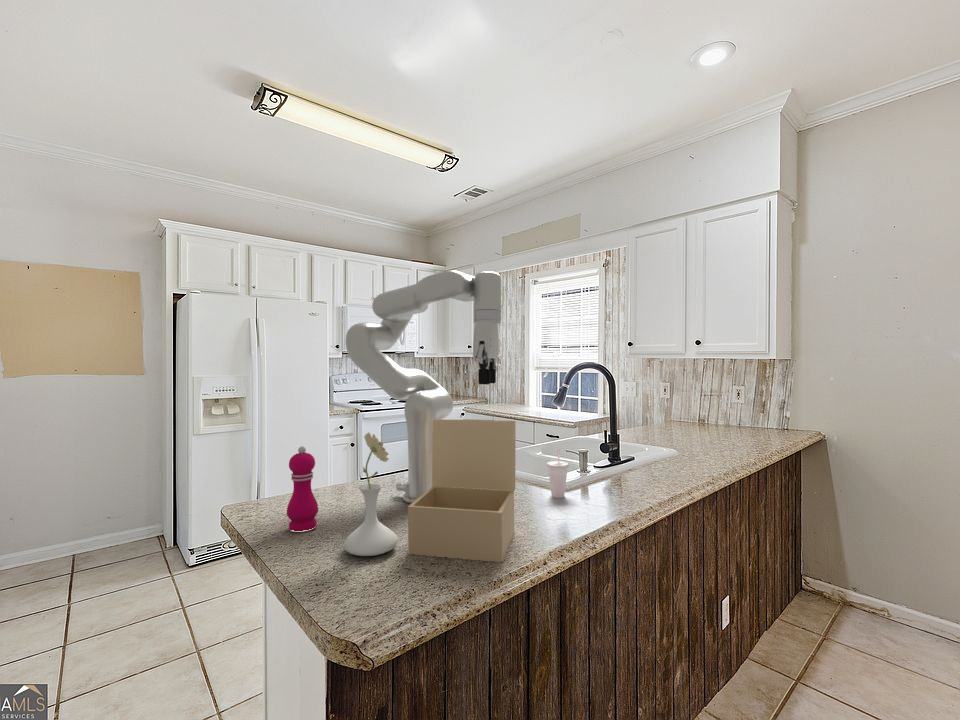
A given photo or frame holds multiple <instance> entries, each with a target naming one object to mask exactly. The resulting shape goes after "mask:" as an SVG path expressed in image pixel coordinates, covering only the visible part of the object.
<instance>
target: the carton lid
mask: <svg viewBox="0 0 960 720" xmlns="http://www.w3.org/2000/svg"><path fill="white" fill-rule="evenodd" d="M516 421H517V420H502V419H501V420H500V419H499V420H497V419H473V418H472V419H465V418H464V419H451V418H450V419H447V418H443V419H433V447H432V486H438V487H455V488H473V489H492V490H511V491H514V492H515V491H516V465H517V464H516V457H517V456H516V451H517V450H516V448H517V447H516V441H517V439H516V435H517V434H516V431H517V430H516Z"/></svg>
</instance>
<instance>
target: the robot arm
mask: <svg viewBox="0 0 960 720" xmlns="http://www.w3.org/2000/svg"><path fill="white" fill-rule="evenodd" d="M501 277H502V276H501V275H500V274H499V273H497V272H495V271H481V272H480V271H479V272H477V273H475V275H470V274H466V273H465V272H461V271H458V270H446V271H441V272H438V273H434V274H431V275H428V276H425V277H423V278H422V279H420V280H418V281H417V282H416V283H414V284H411V285H407V286H403V287H401V288H400V287H399V288H396V289H393V290H388V291H385V292H382V293H379V294H378V295H376V296H375V298H374V299H373V301H372V305H371V307H372V308H371V309H372V311H373V314H375V315H376V317H377V318H378V319H382V320H381V321H380V323H373V322H359V323H355V324H353V325H352V326H350V327H349V328H348V329H347V332H346V335H345V347H346V351H347V354H348V356H349V358H350V359H351V361H352V363H353V364H354V365H355V366H356V367H358V368H359V369H360V370H361V371H362V372H363V373H364V374H366V375H367V376H368V378H370V379H371V380H372V381H373V382H374V383H375V384H376V385H378V387H379V388H381V389H382V390H383V391H384V392H385V393H386V394H387V395H388V396H389V397H390V398H392V399H393V400H397V401H403V400H406V401H405V403H404V410H403V411H404V417H405V423H406V431H407V463H408V464H407V465H408V467H407V468H408V474H407V475H408V479H407V480H408V481H407V482H405V483H404V482H396V484H395V488H396V491H399V492H402V491H403V492H404V494H403V496H402V497H403V501H404V502H406V503H408V504H410V505H411V504H412V503H413V502H414V501H415V500H417V499H418V498H419V497H420V496H421V495H423V494H424V493H425V492H426V491H428V490H429V489H430V488H431V487H432V447H433V419H447V417H449V416H450V414H452V411H453V409H454V401H453V398H452V396H451V394H450V392H448V391H447V390H446V389H445V388H444V387H442V386H441V385H440V383H438V382H437V381H436V380H434V378H432V377H431V376H430V375H429V374H428V373H426V372H425V371H423V370H421V369H419V368H414V367H409V368H407V367H402V366H400V365H399V364H398V363H396V362H395V361H394V360H393V359H392V358H391V357H389V356H388V355H387V354H386V353H383V352H381V351H386V350H390V349H391V348H392V347H393V346H394V345H395V344H396V343H397V341H398V340H399V338H400V337H401V335H402V334H403V333H404V331H405V329H406V327H407V326H408V325H409V323H410V321H411V319H412V317H413V316H414V315H417V314H421V313H425V312H426V311H427V309H428V307H429V304H431V303H435V302H439V301H442V300H449V299H451V300H452V299H453V300H456V301H457V300H458V301H462V302H466V303H467V302H472V301H473V323H474V328H473V329H474V330H473V341H472V343H473V344H472V357H473V358H474V359H477V363H478V364H477V369H478V373H477V375H478V377H477V378H478V385H491V384H495V383H496V382H497V379H496V377H497V376H496V375H497V365H496V363H497V362H496V361H497V358H499V353H500V352H499V351H500V350H499V349H500V337H499V331H500V330H499V324H501V323H502V278H501ZM436 487H438V486H436Z"/></svg>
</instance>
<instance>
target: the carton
mask: <svg viewBox="0 0 960 720" xmlns="http://www.w3.org/2000/svg"><path fill="white" fill-rule="evenodd" d="M407 526H408V527H407V537H408V538H407V540H408V541H407V542H408V544H407V545H408V552H407V553H408V555H412V554H414V555H413V556H423V555H425V556H426V557H434V556H436V557H437V558H445V557H447V559H457V558H459V559H460V558H461V559H460V560H468V559H469V560H470V561H479V560H480V561H481V560H482V562H490V561H496V562H495V563H501V562H502V561H504V560H505V557H506V555H507V552H508V550H509V548H510V545H511V543H512V540H513V538H514V536H515V491H512V490H494V489H475V488H457V487H436V486H432V487H431V488H430V489H429V490H428V491H426V492H425V493H424V494H423V495H421V496H420V497H419V498H418V499H417V500H415V501H414V502H413V503H412V504H411V503H410V504H409V505H408V506H407ZM508 547H509V548H508ZM505 554H506V555H505ZM459 559H458V560H459ZM502 563H503V562H502Z"/></svg>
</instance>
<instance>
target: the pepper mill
mask: <svg viewBox="0 0 960 720" xmlns="http://www.w3.org/2000/svg"><path fill="white" fill-rule="evenodd" d="M297 451H298V453H296V454H293V455H292V456H291V457H290V459H289V461H288V468H289V470H290V471H291V472H292V473H291V474H290V475H291V478H290V479H291V481H292V482H293V490H292V495H291V497H290V500H289V501H288V503H287V507H286V516H287V518H288V519H289V520H290V521H289V522H288V530H289V529H290V530H294V531H303V530H309V529H312V528H314V527H315V526H316V527H317V519H316V518H315V517H316V516H317V515H318V512H319V504H318V501H317V500H316V498H315V496H314V493H313V489H312V479H313V478H314V472H313V470H314V468H315V466H316V460H315V457H314V456H313V454H311V453H309V452H306V447H305V446H299V448H298V449H297Z"/></svg>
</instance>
